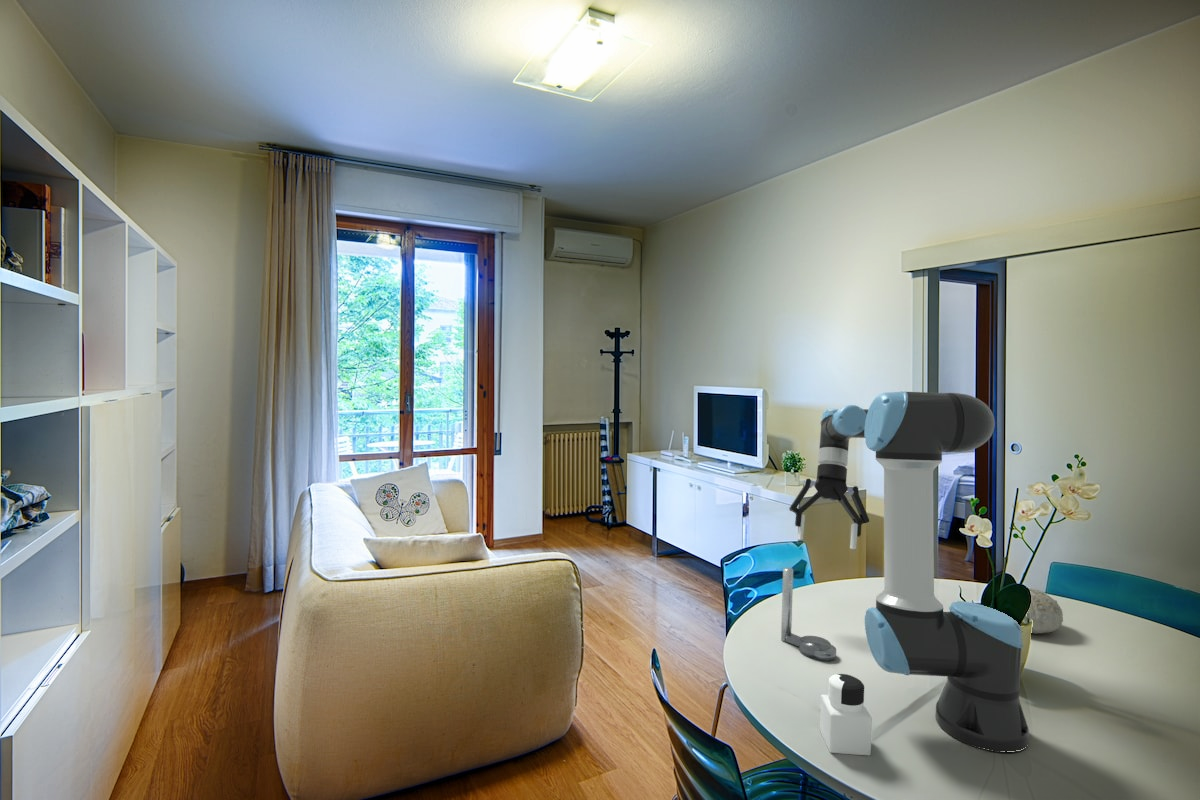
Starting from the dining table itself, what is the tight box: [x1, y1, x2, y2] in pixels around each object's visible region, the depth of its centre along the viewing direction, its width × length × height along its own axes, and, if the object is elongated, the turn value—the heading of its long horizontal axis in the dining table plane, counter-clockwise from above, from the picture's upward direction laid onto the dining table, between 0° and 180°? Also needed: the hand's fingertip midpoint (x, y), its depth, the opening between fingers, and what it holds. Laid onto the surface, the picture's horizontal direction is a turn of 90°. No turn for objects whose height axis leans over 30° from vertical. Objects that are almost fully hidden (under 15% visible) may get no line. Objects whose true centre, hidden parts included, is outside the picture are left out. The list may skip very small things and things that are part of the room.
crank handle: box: [780, 567, 837, 663], centre depth 144 cm, size 14×7×18 cm, turn 38°
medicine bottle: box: [819, 673, 873, 756], centre depth 110 cm, size 7×7×12 cm
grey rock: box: [1027, 587, 1064, 634], centre depth 163 cm, size 18×18×10 cm
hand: (826, 544), depth 159 cm, fingers open, 13 cm apart
